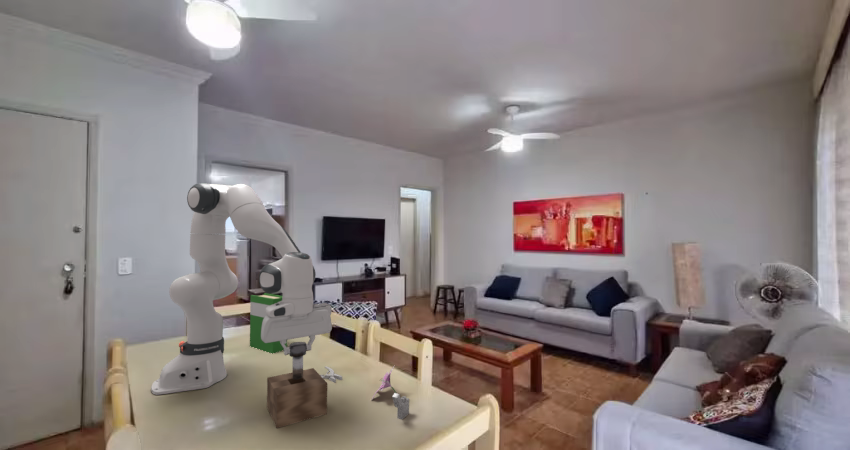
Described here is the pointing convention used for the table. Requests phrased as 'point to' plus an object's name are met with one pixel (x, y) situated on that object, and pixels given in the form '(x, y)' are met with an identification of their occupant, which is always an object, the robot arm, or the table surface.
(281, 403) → the block
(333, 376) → the grey branched figurine
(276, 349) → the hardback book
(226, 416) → the table surface
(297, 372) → the pin
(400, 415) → the lighter
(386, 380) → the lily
